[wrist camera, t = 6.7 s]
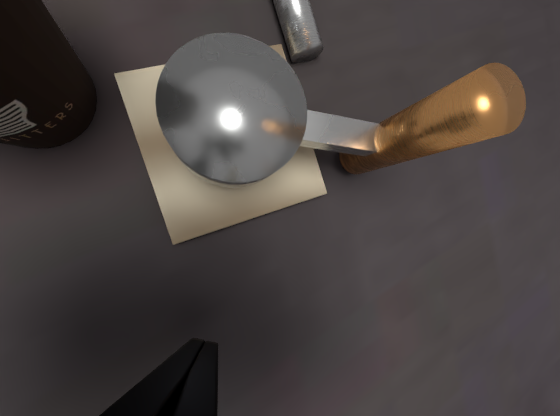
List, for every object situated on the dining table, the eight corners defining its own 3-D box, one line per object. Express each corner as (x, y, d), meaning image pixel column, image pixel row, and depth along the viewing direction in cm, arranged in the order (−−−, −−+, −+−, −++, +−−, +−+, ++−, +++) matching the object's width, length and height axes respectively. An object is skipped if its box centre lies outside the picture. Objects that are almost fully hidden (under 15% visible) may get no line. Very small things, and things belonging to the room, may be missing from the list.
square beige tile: (321, 194, 20) (339, 191, 17) (175, 242, 18) (167, 248, 15) (277, 52, 20) (288, 24, 17) (119, 81, 17) (100, 54, 14)
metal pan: (167, 183, 16) (94, 139, 6) (179, 72, 16) (126, -131, 7) (367, 206, 19) (520, 198, 10) (374, 112, 20) (530, 14, 10)
